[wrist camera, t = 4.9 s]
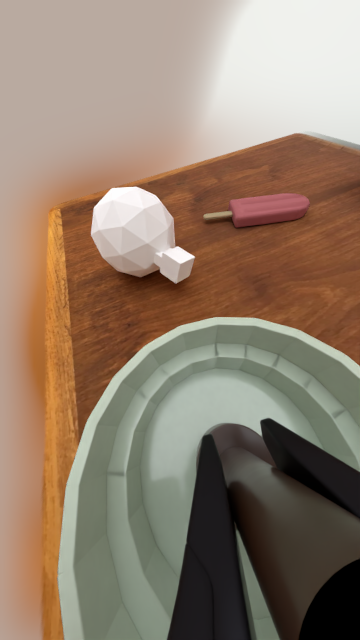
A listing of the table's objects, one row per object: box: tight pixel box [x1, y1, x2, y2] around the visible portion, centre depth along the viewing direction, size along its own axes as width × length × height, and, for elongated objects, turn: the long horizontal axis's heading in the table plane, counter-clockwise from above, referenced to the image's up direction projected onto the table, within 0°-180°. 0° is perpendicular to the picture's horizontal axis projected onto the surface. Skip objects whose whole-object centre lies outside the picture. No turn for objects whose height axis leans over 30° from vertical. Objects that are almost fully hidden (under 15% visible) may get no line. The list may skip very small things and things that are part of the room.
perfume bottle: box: [91, 187, 195, 283], centre depth 20 cm, size 9×9×12 cm
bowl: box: [57, 317, 360, 640], centre depth 10 cm, size 15×15×6 cm
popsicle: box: [204, 193, 310, 228], centre depth 27 cm, size 5×2×15 cm
